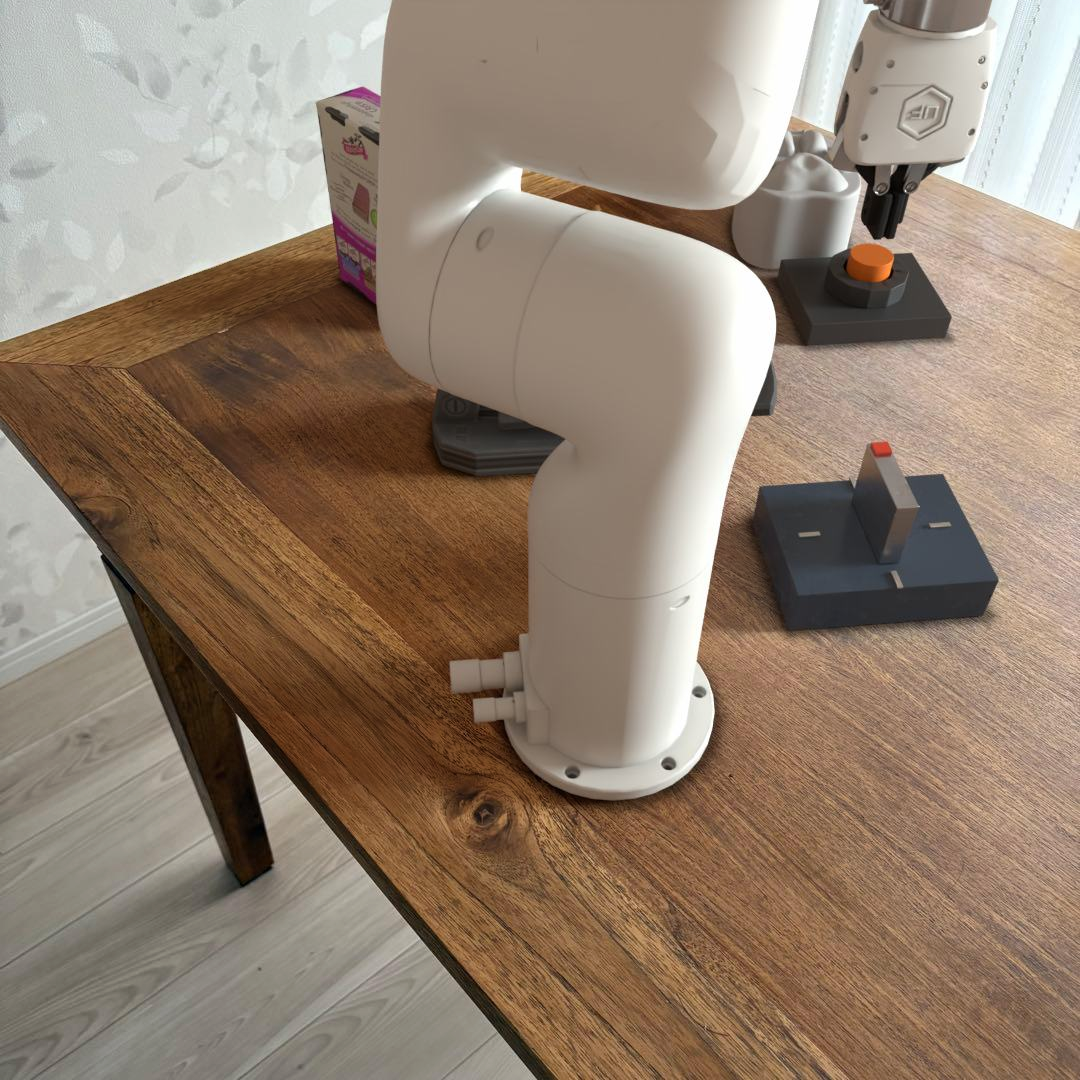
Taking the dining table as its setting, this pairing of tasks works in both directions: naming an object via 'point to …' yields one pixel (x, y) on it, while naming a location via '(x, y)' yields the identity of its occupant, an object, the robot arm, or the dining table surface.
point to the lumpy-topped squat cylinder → (797, 205)
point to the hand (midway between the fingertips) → (878, 230)
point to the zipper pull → (514, 434)
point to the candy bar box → (353, 181)
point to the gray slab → (884, 503)
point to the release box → (861, 302)
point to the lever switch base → (869, 558)
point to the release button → (869, 263)
